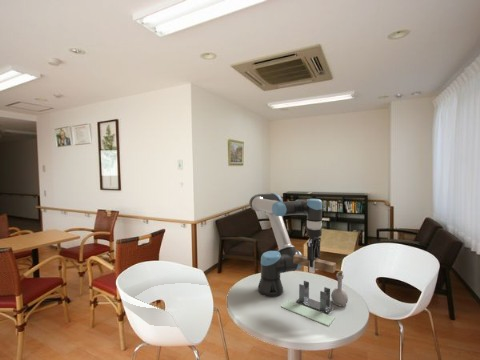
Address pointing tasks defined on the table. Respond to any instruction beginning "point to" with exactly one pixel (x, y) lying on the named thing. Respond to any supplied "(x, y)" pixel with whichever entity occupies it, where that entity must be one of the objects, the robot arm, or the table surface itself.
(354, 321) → the table surface
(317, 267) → the rail
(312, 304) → the rack
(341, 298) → the potion bottle
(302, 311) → the mat
